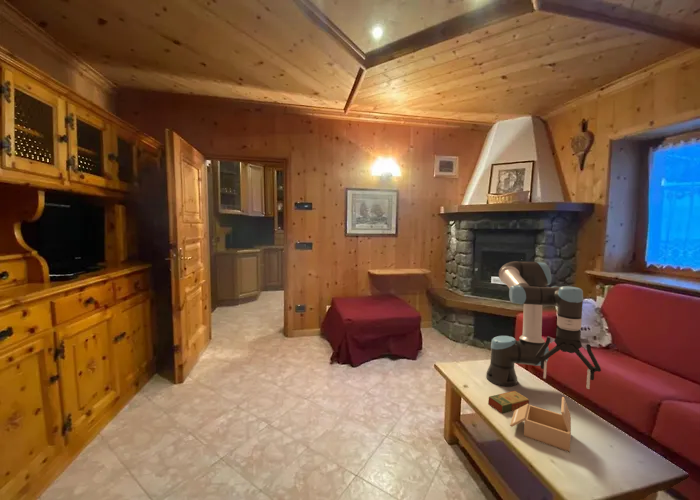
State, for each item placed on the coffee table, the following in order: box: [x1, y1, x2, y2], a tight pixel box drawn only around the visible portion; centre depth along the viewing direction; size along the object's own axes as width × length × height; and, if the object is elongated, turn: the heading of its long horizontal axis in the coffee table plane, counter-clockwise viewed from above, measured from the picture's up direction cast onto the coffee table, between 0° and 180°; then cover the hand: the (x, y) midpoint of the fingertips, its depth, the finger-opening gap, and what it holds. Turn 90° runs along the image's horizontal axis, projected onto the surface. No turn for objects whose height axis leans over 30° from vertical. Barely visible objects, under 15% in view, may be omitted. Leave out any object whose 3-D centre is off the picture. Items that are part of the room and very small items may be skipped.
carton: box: [487, 390, 530, 414], centre depth 144 cm, size 8×16×4 cm, turn 110°
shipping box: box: [509, 404, 572, 453], centre depth 125 cm, size 13×20×8 cm, turn 55°
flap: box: [560, 396, 571, 432], centre depth 119 cm, size 13×1×7 cm, turn 145°
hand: (565, 382), depth 119 cm, fingers open, 13 cm apart
